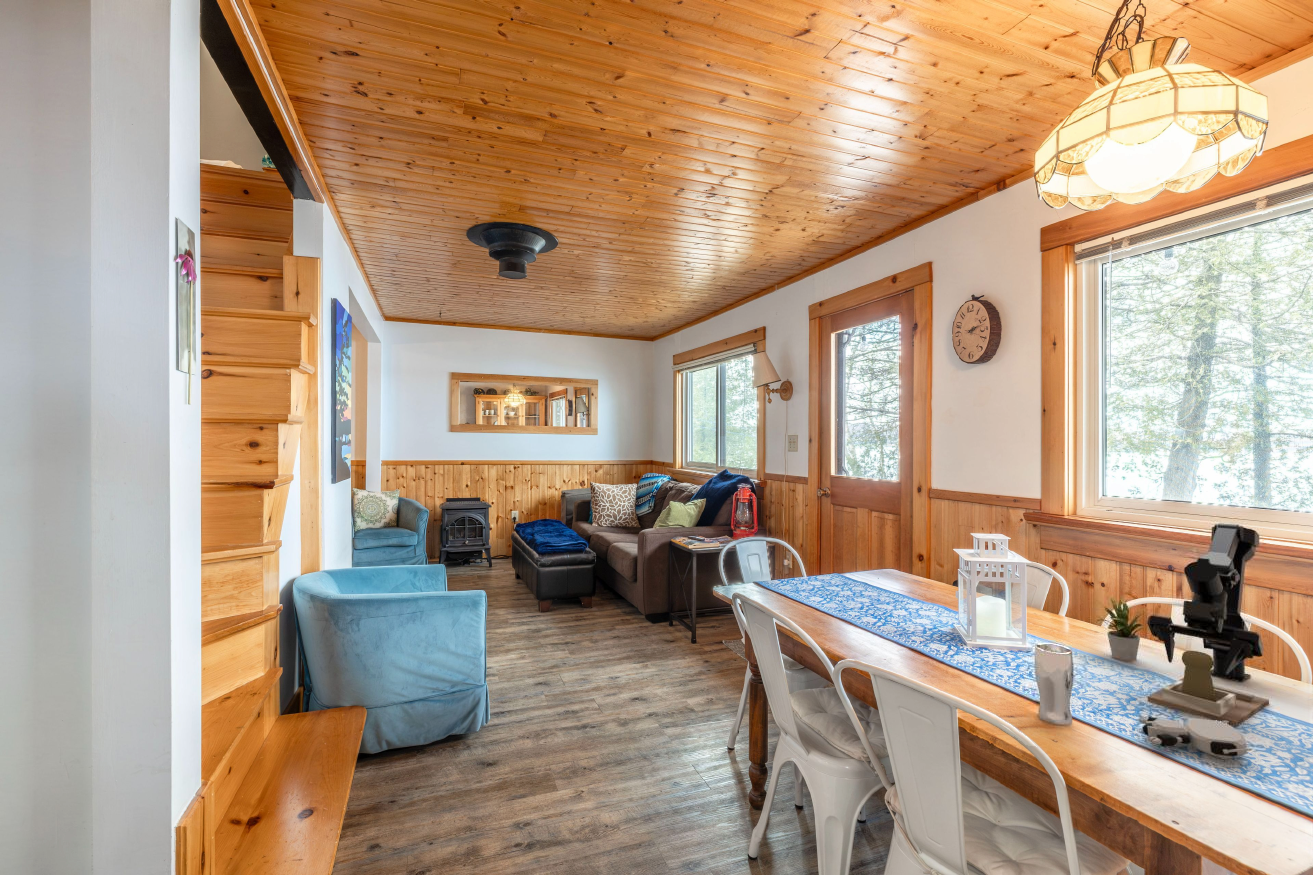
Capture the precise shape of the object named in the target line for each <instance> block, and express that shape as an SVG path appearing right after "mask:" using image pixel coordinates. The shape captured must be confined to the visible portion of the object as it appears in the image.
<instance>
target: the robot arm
mask: <svg viewBox="0 0 1313 875" xmlns="http://www.w3.org/2000/svg"><path fill="white" fill-rule="evenodd" d="M1210 535H1211V536H1210V538H1211V539H1210V541H1211V543H1210V545H1209V548H1208V551H1207V553H1206V554H1203V555H1200V556H1198V557H1197V559H1196V561H1193V562H1192V561H1191V562H1190V563H1188V564H1187V565H1185V567H1184V569H1183V572H1184V575H1185V578H1186V581H1187V583H1188V584H1187V585H1188V587H1189V589H1190V591H1191V592H1193V593H1192V598H1191V601H1190V600H1183V608H1182V615H1183V622H1184V623H1185V624H1186V625H1181V624H1175V623H1174V622H1173V620H1172V618H1171V617H1169V616H1164V615H1157V614H1151V615H1149V616H1148V617H1147V622H1146V624H1147V626H1148V629H1149V632H1150V633H1151V636H1152V637H1155V638H1157V639H1158V641H1161V642H1163V645H1164V648H1165V652H1166V657H1167V661H1168V663H1170V664H1172V662H1173V659H1174V654H1175V653H1174V652H1175V644H1176V642H1175V636H1176V634H1178V635H1184V636H1188V637H1189V636H1190V637H1194V638H1199V639H1202V643H1203V649H1209V650H1212V659H1213V667H1212V669H1211V670H1210V672H1211V676H1215V677H1220V678H1222V679H1223V678H1224V679H1229V680H1232V681H1236V682H1241V683H1242V682H1245V681H1246V680H1248V679H1250V678H1251V676H1252V675H1251V674H1249V673H1246V668H1245V667H1246V666H1245V661H1246V659H1254V657H1258V658H1259V657H1263V654H1264V645H1263V642H1262V638H1261V635H1260V634H1259V633H1258V632H1257V631H1252V630H1249V628H1248V626H1247V624H1246V622H1245V620H1244V619H1243V617H1242V615H1241V613H1242V600H1243V591H1244V580H1245V579H1244V578H1245V570H1246V563H1247V562H1248V561H1250V560H1251V559H1252V558H1253V557H1255V556H1256V550H1257V548H1259V547H1260V534H1259V533H1258V532H1257V530H1254V529H1253V528H1249V527H1248V528H1247V527H1244V526H1243V525H1240V524H1235V523H1225V522H1224V523H1221V522H1220V523H1215V524H1214V526H1212V527H1211V534H1210Z"/></svg>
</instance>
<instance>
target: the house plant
mask: <svg viewBox="0 0 1313 875" xmlns="http://www.w3.org/2000/svg"><path fill="white" fill-rule="evenodd" d="M1107 597H1108V598H1109V599H1110V602H1111V604H1112V607H1113V609H1114V612H1115V613H1114V612H1113V611H1112V610H1110V609H1109V608H1108V607H1106V606H1104V605H1103V603H1101V602H1100V601H1097V600H1095V599H1093V601H1095V602H1098V604H1099V603H1100V604H1101V606H1103V609H1101V610H1104V611H1106V612H1107V613H1108V614H1109V615H1110V616H1109V618H1110V620H1112V621H1113V622H1114V623H1113V622H1111V621H1109V620H1106V619H1104V618H1103V619H1102V618H1101V617H1100V616H1098V615H1095V614H1093V616H1096V617H1097V618H1099V619H1097V620H1096V621H1095V622H1094V623H1098V622H1102V621H1103V622H1104V623H1105V624H1106V625H1108V626H1109V630H1108V631H1107V632H1106V634H1107V638H1108V643H1109V647H1110V651H1111V652H1110V653H1111V656H1112V657H1113V658H1114V659H1117V660H1120V661H1126V662H1135V661H1137V656H1138V652H1139V646H1140V640H1141V636H1140V635H1139V634H1136V633H1137V632H1139V631H1141V630H1143V628H1139V627H1141V626H1143V624H1141V623H1138V622H1139V621H1141V619H1138V618H1140V616H1142V615H1143V614H1145V613H1148V610H1147V611H1145V612H1144V611H1143V610H1145V607H1143V608H1142V609H1140V610H1139V612H1138V613H1137V614H1136V615H1135V616H1134V617H1133V618H1132V619H1131V622H1130V623H1128V622H1129V620H1130V618H1129V615H1130V614H1129V613H1130V611H1129V606H1128V604H1127V602H1128V600H1126V601H1124V600H1122V598H1120V599H1119V600H1118V604H1117V603H1116V601H1115V600H1114V599H1113V598H1112V597H1111V596H1107ZM1089 600H1091V601H1092V599H1090V598H1089ZM1095 602H1094V604H1096V605H1097V603H1095ZM1117 605H1118V606H1117ZM1150 611H1151V612H1152V611H1153V610H1152V609H1151V610H1149V612H1150ZM1141 612H1142V613H1141ZM1144 621H1145V622H1146V620H1145V619H1143V622H1144ZM1108 623H1110V624H1108ZM1114 628H1115V629H1114ZM1137 628H1139V629H1137ZM1110 629H1112V630H1110ZM1147 630H1148V631H1150V629H1149V628H1147Z"/></svg>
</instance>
